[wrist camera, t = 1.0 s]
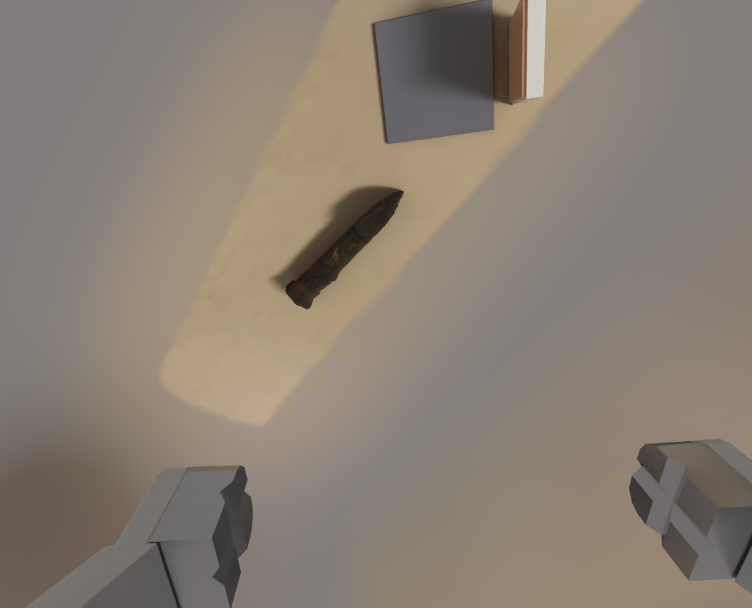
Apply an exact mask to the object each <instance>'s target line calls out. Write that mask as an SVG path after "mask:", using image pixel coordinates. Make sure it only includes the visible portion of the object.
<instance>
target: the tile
mask: <svg viewBox="0 0 752 608" xmlns="http://www.w3.org/2000/svg"><path fill="white" fill-rule="evenodd" d="M545 17H546V0H520V1H519V3H518V6H517V8H516V10H515V12H514V14H513V17H512V19H511V21H510V23H509V103H512V105H516V104H522V103H527V102H529V101H532V100H535V99H538V98H540V97H543V83H544V50H545Z"/></svg>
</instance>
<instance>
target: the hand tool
mask: <svg viewBox="0 0 752 608" xmlns="http://www.w3.org/2000/svg"><path fill="white" fill-rule="evenodd" d="M403 193H404V191H399V192H395V193H392V194H391V195H389V196H388V197H386V198H384V199H383V200H381V201H380V202H378V203H377V204H376V205H374V206H373V207H371V209H370V210H369V211H368V212H367V213H365V214H364V215H363V216H361V217H360V218H359V219H358V221H357V222H356V223H355V224H354V225H353V226H352V227H351V228H350V229H349V230H348V231H347V232H346V233H345V234H344V235H343V236H342V237H341V238H340V239H339V240H337V241H336V242H335V243H334V244H333V245H332V246H331V247H330V248H329V249H328V250H327V251H326V252H325V253H324V254H323V255H322V256H321V257H320V258H319V259H318V260H317V261H316V262H315V263H314V264H313V265H312V266H311V267H310V268H309V269H308V270H307V271H306V272H305V273H303V274H302V275H301V277H300V278H299V279H298V280H297V281H291V282H290V283H289V284H288V285H287V286H286V293H287V295H288V296H289V297H290V298H291V299H292V300H293V302H294V303H295V304H296V305H298V306H301V307H303V308H305V309H309V308H310V307H311V305H312V302H313V299H314V298H315V297H316V296H318V295H319V294H320V291H321V290H322V289H324V288H325V287H326V286H328V285H329V284H330V283H331V282H332V281H335V280H336V279H337V277H338V275H339V273H340V271H341V270H342V269H343V268H344V267H345V266H346V265H347V264H348V263H349V262H350V261H351V260H352V258H354V256H355V255H356V254H357V253H358V252H360V250H361V249H362V248H363V247H364V246H365V245H367V244H368V243H369V242H370V241H371V239H372V238H373V237H374V236H375V235H377V234H378V233H379V231H380V230H381V229H382V228H383V227H384V226H385V225H386V224H387V223H388V221H389V220H390V218H391V217H392V216H393V215H394V213H395V212H394V211H395V210H396V208H397V207H398V203H399V201H400V199H401V198H402V196H403Z"/></svg>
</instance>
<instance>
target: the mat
mask: <svg viewBox="0 0 752 608" xmlns="http://www.w3.org/2000/svg"><path fill="white" fill-rule="evenodd" d="M375 31H376V40H377V49H378V58H379V67H380V76H381V85H382V94H383V104H384V113H385V122H386V131H387V140H388V144H392V143H399V142H407V141H414V140H421V139H428V138H435V137H443V136H450V135H457V134H464V133H472V132H479V131H486V130H493V129H494V110H493V37H492V0H482V1H477V2H472V3H468V4H463V5H458V6H454V7H449V8H444V9H440V10H435V11H430V12H425V13H421V14H416V15H411V16H407V17H402V18H397V19H393V20H388V21H383V22H378V23H375Z"/></svg>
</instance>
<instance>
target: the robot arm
mask: <svg viewBox="0 0 752 608" xmlns="http://www.w3.org/2000/svg"><path fill="white" fill-rule="evenodd" d="M637 460H638V461H639V463H640V465H641V466H642V467H641V468H640V469H639V470H637V471H636V472H635V473H634V474H633V475H632V478H631V482H630V486H629V489H630V495H631V500H632V503H633V506H634V508H635V510H636V512H637V513H638V515H639V516H640V518H641V519H642V520H643V522H644V523H645V524H646V525H647V526H649V527H650V528H652V529H653V530H655V531H656V532H658V533H660V534H661V538H662V547H663V548H664V549H665V551H666V552H667V553H668V554H669V556H670V557H671V558H672V560H673V561H674V562H675V564H676V565H677V566H678V567H679V568H680V570H681V571H682V573H683V574H684V575H685V576H686V578H687V579H688V580H713V579H714V580H717V579H736V580H735V582H736V583H737V584H739V585H740V586H742V587H743V588H744V589H745V590H747V591H748V592H750V593H751V594H752V460H751V459H749V458H748V457H747V456H746V455H744V454H743V453H742V452H741V451H739V450H738V449H737V448H736V447H734V446H733V445H732V444H730V443H728V442H726V441H723V440H721V439H710V440H695V441H681V442H666V443H649V444H645V445H644V446H643V447H642V448H641V449H640V451H639V454H638V457H637ZM246 483H247V475H246V471H245V467H243V466H241V465H238V466H237V465H236V466H200V467H188V468H165V469H164V470H162V471H161V472H160V473H159V474H158V475H157V476H156V478H155V480H154V481H153V483H152V485H151V486H150V488H149V490H148V491H147V493H146V495H145V496H144V498H143V500H142V501H141V503H140V505H139V506H138V508H137V509H136V511H135V513H134V514H133V516H132V518H131V519H130V521H129V523H128V524H127V526H126V527H125V529H124V531H123V532H122V534H121V536H120V537H119V539H118V541H117V542H116V544H115V545H114V546H106V547H104V548H103V549H101V550H100V551H99V552H97V553H96V554H95V555H93V556H92V557H91V558H90V559H88V560H87V561H86V562H84V563H83V564H82V565H80V566H79V567H78V568H76V569H75V570H74V571H72V572H71V573H70V574H69V575H67V576H66V577H65V578H63V579H62V580H61V581H59V582H58V583H57V584H55V585H54V586H53V587H52V588H50V589H49V590H48V591H46V592H45V593H44V594H42V595H41V596H40V597H38V598H37V599H36V600H35V601H33V602H32V603H30V604H29V605H28V606H27V607H25V608H231V607H232V603H233V600H234V596H235V592H236V589H237V585H238V581H239V578H240V574H241V570H240V566H239V560H238V558H239V557H240V556H241V555H242V554H243V553H244V552H245V550H247V548H248V544H249V540H250V536H251V530H252V521H253V509H252V508H253V507H252V500H251V496H249V495H248V494H247V493H246V492H245V491H244V490H245V487H246Z"/></svg>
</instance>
